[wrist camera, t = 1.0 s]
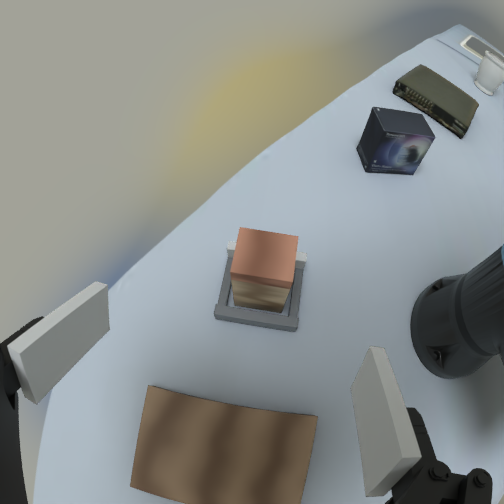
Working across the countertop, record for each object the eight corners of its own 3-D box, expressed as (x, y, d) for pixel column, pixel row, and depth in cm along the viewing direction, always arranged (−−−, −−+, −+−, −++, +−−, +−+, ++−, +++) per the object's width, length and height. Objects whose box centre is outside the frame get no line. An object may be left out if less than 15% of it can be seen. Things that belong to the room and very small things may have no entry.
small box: (365, 174, 49) (384, 130, 40) (355, 148, 52) (370, 105, 43) (414, 176, 50) (437, 137, 41) (402, 151, 53) (421, 112, 43)
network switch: (387, 97, 62) (393, 82, 58) (408, 71, 71) (412, 58, 66) (468, 147, 56) (477, 133, 52) (473, 110, 65) (480, 99, 60)
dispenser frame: (302, 264, 42) (307, 253, 38) (294, 331, 37) (298, 325, 34) (230, 253, 42) (228, 240, 39) (215, 318, 38) (212, 311, 35)
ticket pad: (286, 277, 41) (298, 236, 31) (281, 313, 39) (292, 282, 29) (241, 270, 41) (239, 227, 31) (234, 305, 39) (230, 271, 29)
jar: (483, 95, 70) (499, 64, 57) (466, 78, 75) (480, 47, 61) (498, 99, 71) (514, 70, 58) (482, 82, 76) (496, 54, 62)
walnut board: (314, 415, 33) (317, 416, 31) (294, 514, 26) (296, 519, 25) (153, 386, 34) (148, 385, 32) (135, 482, 28) (129, 486, 26)
